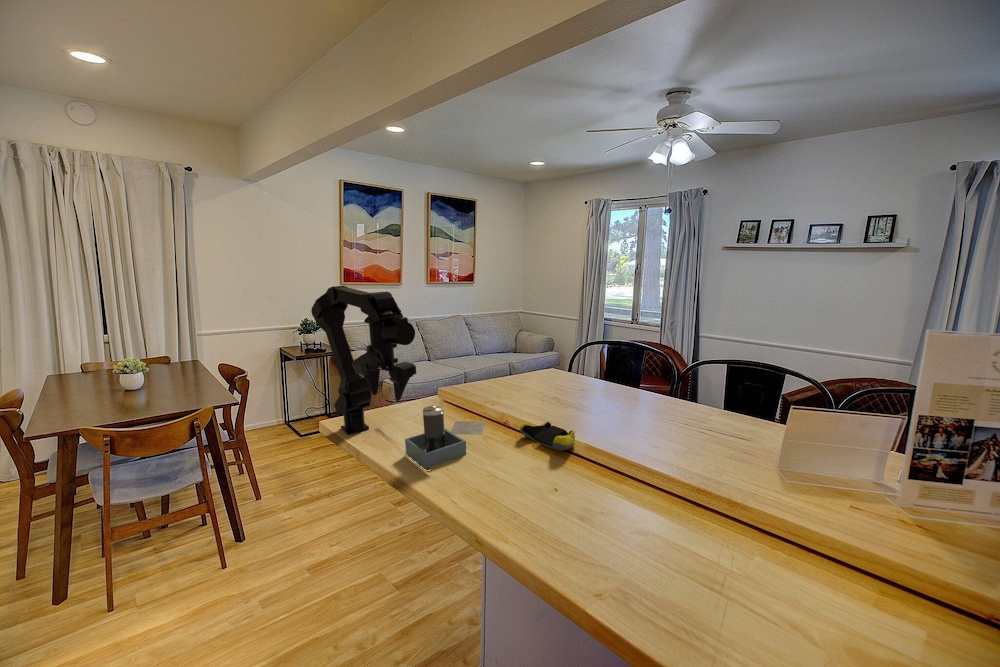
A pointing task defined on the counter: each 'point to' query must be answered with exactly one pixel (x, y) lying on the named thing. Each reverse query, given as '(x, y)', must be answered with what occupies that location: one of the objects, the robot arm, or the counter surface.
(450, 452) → the bin
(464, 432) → the plate
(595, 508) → the counter surface
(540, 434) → the black and yellow shoe
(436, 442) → the battery
